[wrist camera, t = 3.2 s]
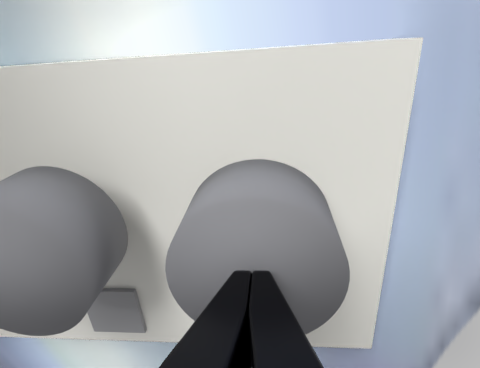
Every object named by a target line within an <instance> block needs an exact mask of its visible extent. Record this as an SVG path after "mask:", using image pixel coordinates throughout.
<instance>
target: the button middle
mask: <svg viewBox="0 0 480 368" xmlns="http://www.w3.org/2000/svg"><path fill="white" fill-rule="evenodd" d="M127 246H128V232H127V227H126V224H125V221H124V218H123V216H122V214H121V212H120V210H119V209H118V207H117V206H116V204H115V203H114V202H113V201H112V199H111V198H110V197H109V196H108V195H107V194H106V193H105V192H104V191H103V190H102V189H101V188H99V187H98V186H97V185H96V184H94V183H93V182H91V181H90V180H88V179H87V178H85V177H83V176H81V175H79V174H77V173H74V172H72V171H69V170H66V169H62V168H58V167H51V166H37V167H30V168H26V169H24V170H21V171H19V172H17V173H15V174H13V175H11V176H9V177H7V178H5V179H3V180H1V181H0V329H3V330H6V331H9V332H13V333H17V334H23V335H29V336H49V335H55V334H59V333H63V332H65V331H68V330H70V329H71V328H73V327H75V326H76V325H77V324H78V323H79V322H80V321H81V320H82V319H83V318H84V316H85V315H86V313H87V312H88V310H89V309H90V307H91V306H92V304H93V303H94V301H95V300H96V298H97V297H98V295H99V294H100V292H101V291H102V289H103V288H104V287H105V285H106V284H107V282H108V281H109V279H110V278H111V276H112V275H113V273H114V272H115V270H116V269H117V267H118V266H119V264H120V263H121V261H122V260H123V258H124V256H125V254H126V250H127Z"/></svg>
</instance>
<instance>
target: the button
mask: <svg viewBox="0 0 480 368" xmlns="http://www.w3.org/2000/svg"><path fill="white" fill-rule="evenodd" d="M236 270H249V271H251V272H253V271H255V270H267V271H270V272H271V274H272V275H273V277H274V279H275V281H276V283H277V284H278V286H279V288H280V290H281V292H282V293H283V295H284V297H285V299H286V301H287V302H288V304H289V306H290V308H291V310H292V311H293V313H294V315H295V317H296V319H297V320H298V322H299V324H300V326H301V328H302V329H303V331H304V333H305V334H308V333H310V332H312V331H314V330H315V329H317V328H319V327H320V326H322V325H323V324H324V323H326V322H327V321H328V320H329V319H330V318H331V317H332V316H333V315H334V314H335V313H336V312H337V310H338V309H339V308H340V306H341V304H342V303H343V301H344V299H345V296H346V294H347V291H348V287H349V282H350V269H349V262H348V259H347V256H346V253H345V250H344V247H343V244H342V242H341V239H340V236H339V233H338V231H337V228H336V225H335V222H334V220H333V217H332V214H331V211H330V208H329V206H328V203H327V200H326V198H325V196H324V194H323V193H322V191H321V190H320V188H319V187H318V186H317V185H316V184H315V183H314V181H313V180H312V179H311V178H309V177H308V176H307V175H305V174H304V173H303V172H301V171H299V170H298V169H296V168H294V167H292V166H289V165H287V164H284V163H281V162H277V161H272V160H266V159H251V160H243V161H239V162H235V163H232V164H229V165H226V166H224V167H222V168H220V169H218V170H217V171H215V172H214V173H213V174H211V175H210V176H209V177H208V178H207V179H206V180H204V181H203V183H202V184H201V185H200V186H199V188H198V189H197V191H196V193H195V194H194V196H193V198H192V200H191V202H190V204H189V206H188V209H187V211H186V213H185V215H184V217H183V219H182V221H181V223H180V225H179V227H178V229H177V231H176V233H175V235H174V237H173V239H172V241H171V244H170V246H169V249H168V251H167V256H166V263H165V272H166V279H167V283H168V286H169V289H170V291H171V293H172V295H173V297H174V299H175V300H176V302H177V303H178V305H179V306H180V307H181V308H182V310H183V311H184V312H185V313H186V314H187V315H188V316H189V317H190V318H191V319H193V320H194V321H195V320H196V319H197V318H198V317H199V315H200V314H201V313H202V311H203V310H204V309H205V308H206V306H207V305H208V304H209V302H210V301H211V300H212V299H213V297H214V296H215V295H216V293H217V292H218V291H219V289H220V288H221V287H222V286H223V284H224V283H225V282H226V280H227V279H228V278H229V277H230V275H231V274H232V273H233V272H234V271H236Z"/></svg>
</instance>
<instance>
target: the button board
mask: <svg viewBox="0 0 480 368" xmlns="http://www.w3.org/2000/svg"><path fill="white" fill-rule="evenodd" d="M422 42H423V38H392V39H378V40H364V41H350V42H336V43H322V44H307V45H293V46H279V47H265V48H251V49H237V50H222V51H208V52H194V53H180V54H166V55H152V56H138V57H123V58H109V59H95V60H81V61H67V62H53V63H39V64H24V65H10V66H0V181H1V180H3V179H5V178H7V177H9V176H11V175H13V174H15V173H17V172H19V171H21V170H24V169H26V168H30V167H37V166H51V167H58V168H62V169H66V170H69V171H72V172H74V173H77V174H79V175H81V176H83V177H85V178H87V179H88V180H90V181H91V182H93V183H94V184H96V185H97V186H98V187H99V188H101V189H102V190H103V191H104V192H105V193H106V194H107V195H108V196H109V197H110V198H111V199H112V201H113V202H114V203H115V204H116V206H117V207H118V209H119V210H120V212H121V214H122V216H123V218H124V221H125V224H126V227H127V232H128V246H127V250H126V254H125V256H124V258H123V260H122V261H121V263H120V264H119V266H118V267H117V269H116V270H115V272H114V273H113V275H112V276H111V278H110V279H109V281H108V282H107V284H106V285H105V287H104V288H103V289H102V291H101V292H100V294H99V295H98V297H97V298H96V300H95V301H94V303H93V304H92V306H91V307H90V309H89V310H88V312H87V313H86V315H85V316H84V318H83V319H82V320H81V321H80V322H79V323H78V324H77V325H76V326H75V327H73V328H71V329H70V330H68V331H65V332H63V333H59V334H55V335H49V336H29V335H23V334H17V333H13V332H9V331H6V330H3V329H0V337H24V338H56V339H87V340H118V341H149V342H179V341H180V340H181V339H182V337H183V336H184V335H185V333H186V332H187V331H188V329H189V328H190V327H191V326H192V324H193V323H194V322H195V321H194V320H193V319H191V318H190V317H189V316H188V315H187V314H186V313H185V312H184V311H183V310H182V308H181V307H180V306H179V305H178V303H177V302H176V300H175V299H174V297H173V295H172V293H171V291H170V289H169V286H168V283H167V279H166V272H165V263H166V256H167V251H168V249H169V246H170V244H171V241H172V239H173V237H174V235H175V233H176V231H177V229H178V227H179V225H180V223H181V221H182V219H183V217H184V215H185V213H186V211H187V209H188V206H189V204H190V202H191V200H192V198H193V196H194V194H195V193H196V191H197V189H198V188H199V186H200V185H201V184H202V183H203V181H204V180H206V179H207V178H208V177H209V176H210V175H211V174H213V173H214V172H215V171H217V170H218V169H220V168H222V167H224V166H226V165H229V164H232V163H235V162H239V161H243V160H251V159H266V160H272V161H277V162H281V163H284V164H287V165H289V166H292V167H294V168H296V169H298V170H299V171H301V172H303V173H304V174H305V175H307V176H308V177H309V178H311V179H312V180H313V181H314V183H315V184H316V185H317V186H318V187H319V188H320V190H321V191H322V193H323V194H324V196H325V198H326V200H327V203H328V206H329V208H330V211H331V214H332V217H333V220H334V222H335V225H336V228H337V231H338V233H339V236H340V239H341V242H342V244H343V247H344V250H345V253H346V256H347V259H348V262H349V269H350V282H349V287H348V291H347V294H346V296H345V299H344V301H343V303H342V304H341V306H340V308H339V309H338V310H337V312H336V313H335V314H334V315H333V316H332V317H331V318H330V319H329V320H328V321H327V322H326V323H324V324H323V325H322V326H320V327H319V328H317V329H315V330H314V331H312V332H310V333H308V334H305V335H306V337H307V338H308V340H309V342H310V344H311V346H312V347H335V348H366V349H371V348H372V342H373V336H374V330H375V324H376V318H377V312H378V306H379V300H380V294H381V288H382V282H383V276H384V270H385V264H386V258H387V252H388V246H389V240H390V234H391V228H392V222H393V216H394V210H395V204H396V198H397V192H398V186H399V180H400V174H401V168H402V162H403V156H404V150H405V144H406V138H407V132H408V126H409V120H410V114H411V108H412V102H413V96H414V90H415V84H416V78H417V72H418V66H419V60H420V54H421V48H422Z"/></svg>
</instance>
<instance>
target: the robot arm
mask: <svg viewBox="0 0 480 368" xmlns="http://www.w3.org/2000/svg"><path fill="white" fill-rule="evenodd" d="M159 368H324V367H323V365H322V364H321V362H320V360H319V358H318V356H317V355H316V353H315V351H314V349H313V347H312V346H311V344H310V342H309V340H308V338H307V337H306V335H305V333H304V331H303V329H302V328H301V326H300V324H299V322H298V320H297V319H296V317H295V315H294V313H293V311H292V310H291V308H290V306H289V304H288V302H287V301H286V299H285V297H284V295H283V293H282V292H281V290H280V288H279V286H278V284H277V283H276V281H275V279H274V277H273V275H272V274H271V272H270V271H267V270H255V271H253V272H251V271H249V270H236V271H234V272H233V273H232V274H231V275H230V277H229V278H228V279H227V280H226V282H225V283H224V284H223V286H222V287H221V288H220V289H219V291H218V292H217V293H216V295H215V296H214V297H213V299H212V300H211V301H210V302H209V304H208V305H207V306H206V308H205V309H204V310H203V311H202V313H201V314H200V315H199V317H198V318H197V319H196V320H195V322H194V323H193V324H192V326H191V327H190V328H189V329H188V331H187V332H186V333H185V335H184V336H183V337H182V339H181V340H180V341H179V342H178V344H177V345H176V346H175V348H174V349H173V350H172V351H171V353H170V354H169V355H168V357H167V358H166V359H165V360H164V362H163V363H162V364H161V366H160V367H159Z"/></svg>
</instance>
